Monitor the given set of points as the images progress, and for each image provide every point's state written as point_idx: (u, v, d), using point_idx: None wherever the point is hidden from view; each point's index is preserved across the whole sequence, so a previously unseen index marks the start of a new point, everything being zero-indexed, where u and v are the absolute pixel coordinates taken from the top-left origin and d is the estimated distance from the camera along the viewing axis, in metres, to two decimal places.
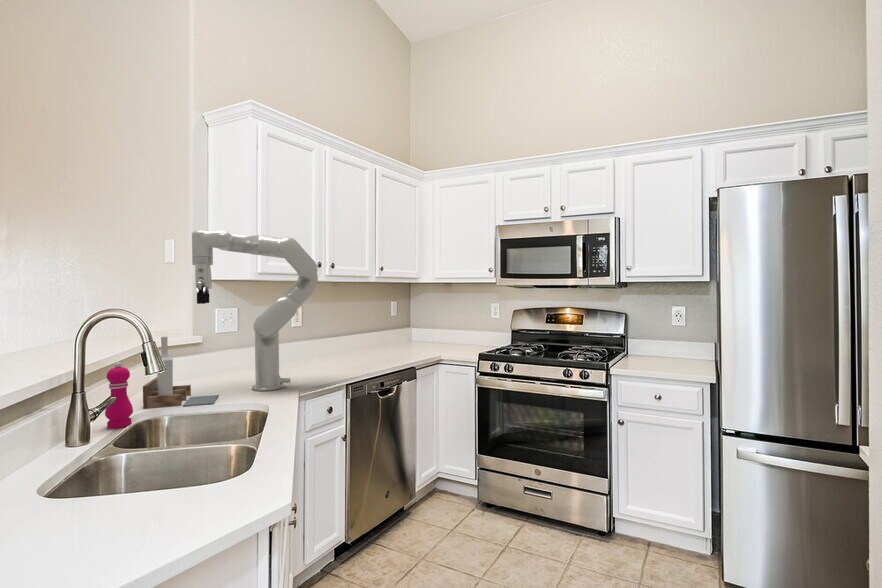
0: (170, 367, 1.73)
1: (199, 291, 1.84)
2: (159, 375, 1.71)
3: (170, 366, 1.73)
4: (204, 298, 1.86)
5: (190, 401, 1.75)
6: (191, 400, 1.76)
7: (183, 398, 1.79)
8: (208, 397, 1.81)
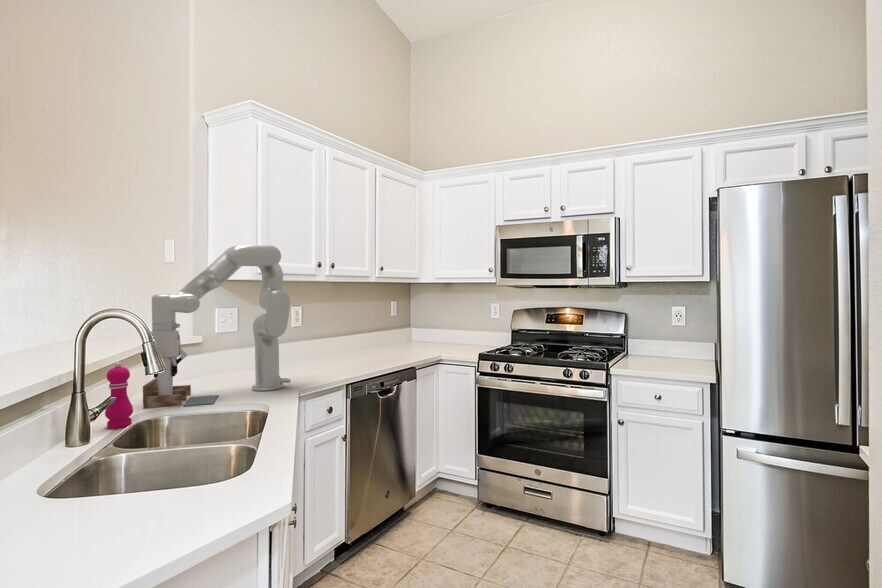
0: (170, 367, 1.73)
1: (178, 362, 1.74)
2: (159, 375, 1.71)
3: (170, 366, 1.73)
4: None
5: (190, 401, 1.75)
6: (191, 400, 1.76)
7: (183, 398, 1.79)
8: (208, 397, 1.81)
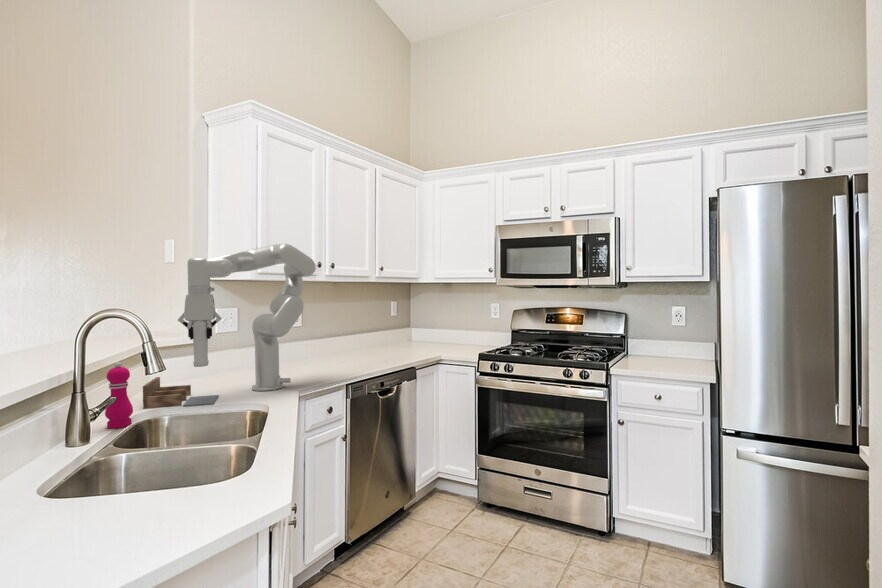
0: (205, 329, 1.76)
1: (213, 325, 1.78)
2: (195, 337, 1.75)
3: (205, 328, 1.76)
4: None
5: (190, 401, 1.75)
6: (191, 400, 1.76)
7: (183, 398, 1.79)
8: (208, 397, 1.81)
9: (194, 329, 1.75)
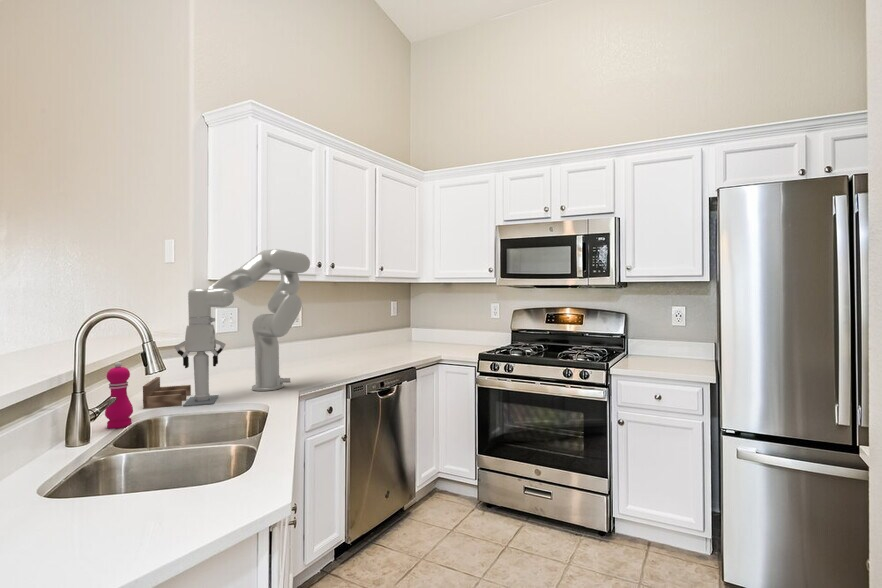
0: (206, 363, 1.77)
1: None
2: (196, 371, 1.75)
3: (206, 362, 1.77)
4: None
5: (190, 401, 1.75)
6: (191, 400, 1.76)
7: (183, 398, 1.79)
8: None
9: (195, 363, 1.75)
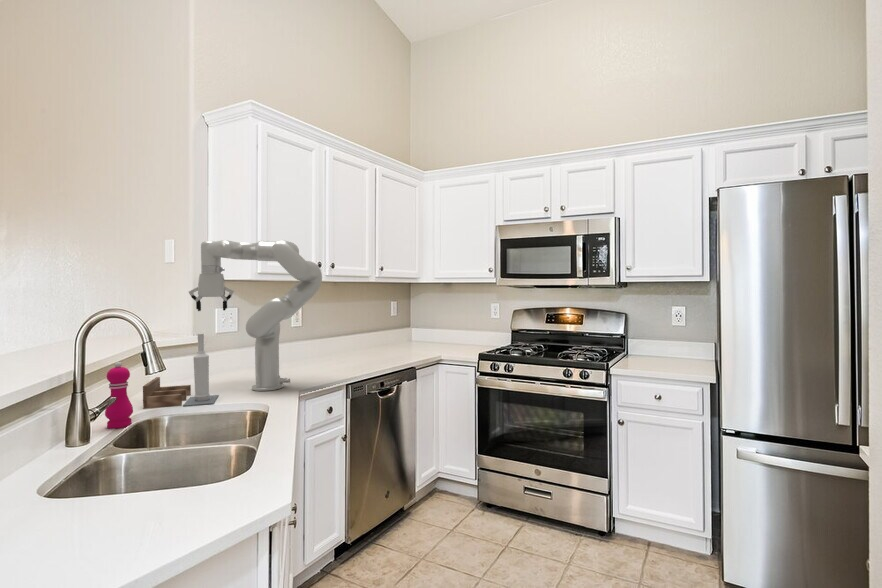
0: (206, 363, 1.77)
1: (228, 299, 2.01)
2: (196, 371, 1.75)
3: (206, 362, 1.77)
4: None
5: (190, 401, 1.75)
6: (191, 400, 1.76)
7: (183, 398, 1.79)
8: None
9: (195, 363, 1.75)
